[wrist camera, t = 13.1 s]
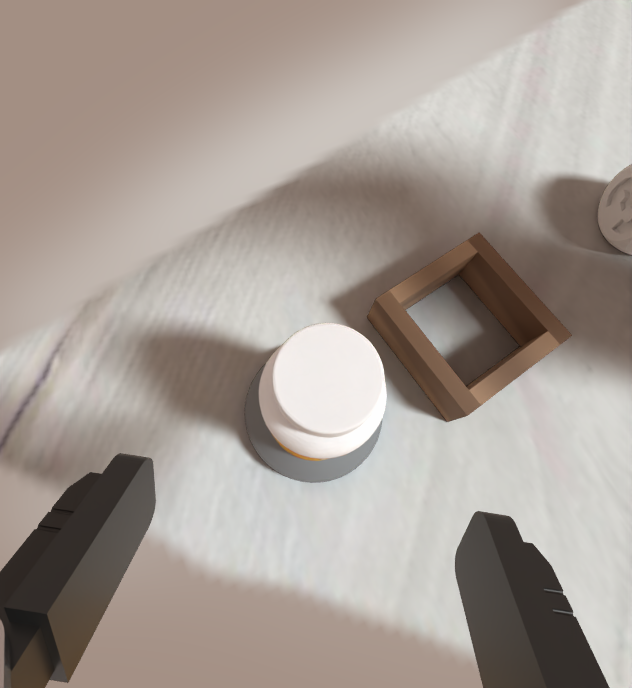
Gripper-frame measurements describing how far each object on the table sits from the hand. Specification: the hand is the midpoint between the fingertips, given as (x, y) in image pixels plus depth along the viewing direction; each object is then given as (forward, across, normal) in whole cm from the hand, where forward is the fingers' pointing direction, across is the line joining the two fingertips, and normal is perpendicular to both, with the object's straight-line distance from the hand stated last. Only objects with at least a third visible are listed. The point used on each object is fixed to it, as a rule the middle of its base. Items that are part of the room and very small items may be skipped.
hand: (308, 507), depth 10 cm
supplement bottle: (+12, 0, +6) cm, 13 cm away
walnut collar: (+17, -8, +2) cm, 19 cm away
